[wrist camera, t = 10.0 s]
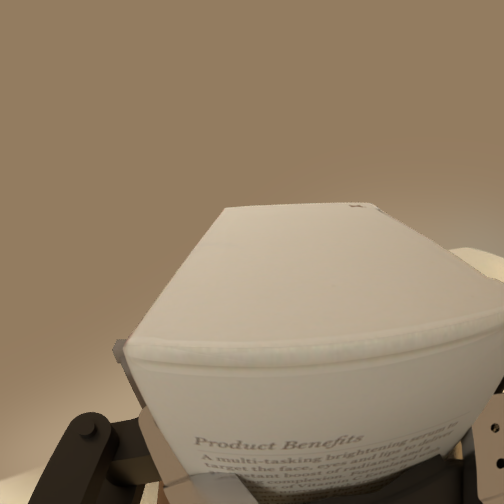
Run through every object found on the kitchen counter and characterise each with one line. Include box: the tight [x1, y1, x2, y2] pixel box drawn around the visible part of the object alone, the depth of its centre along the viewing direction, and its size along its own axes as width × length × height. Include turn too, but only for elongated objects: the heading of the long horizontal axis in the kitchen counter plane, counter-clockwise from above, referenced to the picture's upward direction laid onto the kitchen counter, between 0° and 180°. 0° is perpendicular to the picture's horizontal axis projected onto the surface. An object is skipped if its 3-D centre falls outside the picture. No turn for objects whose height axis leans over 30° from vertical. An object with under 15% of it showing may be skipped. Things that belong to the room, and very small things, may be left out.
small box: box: [123, 203, 504, 504], centre depth 8 cm, size 8×6×10 cm
